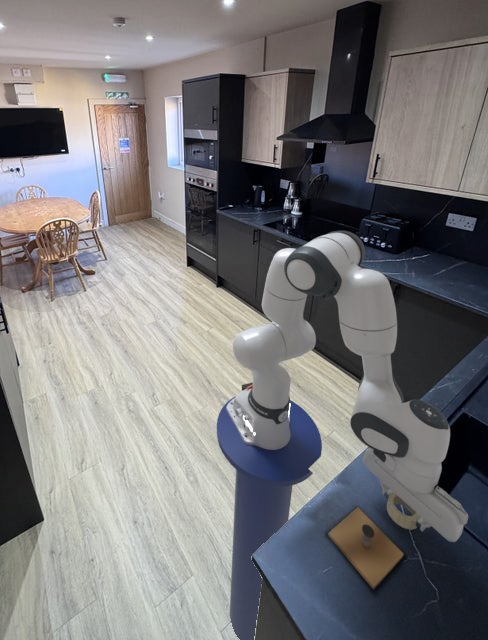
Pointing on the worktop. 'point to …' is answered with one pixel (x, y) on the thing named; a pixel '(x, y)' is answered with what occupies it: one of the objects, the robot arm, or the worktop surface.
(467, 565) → the worktop surface
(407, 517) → the tape roll
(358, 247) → the robot arm
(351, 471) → the worktop surface
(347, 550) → the peg stand
